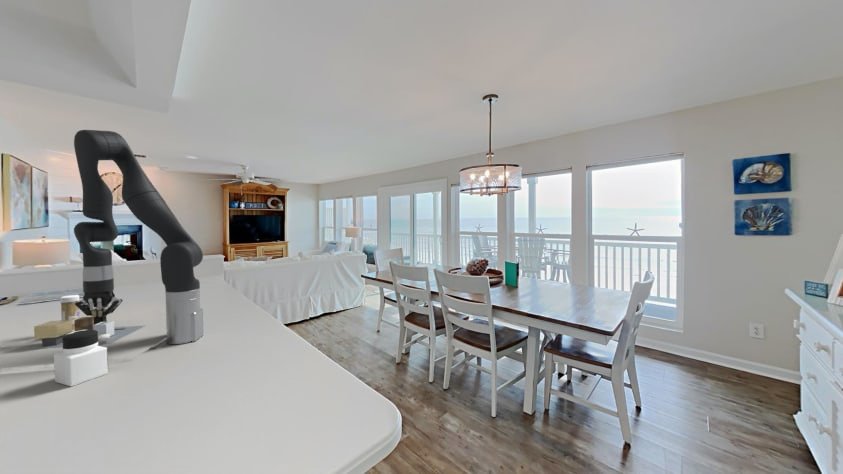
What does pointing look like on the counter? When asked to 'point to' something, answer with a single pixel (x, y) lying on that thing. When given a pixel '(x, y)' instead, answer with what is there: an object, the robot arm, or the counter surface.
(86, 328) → the walnut fader
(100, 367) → the medicine bottle
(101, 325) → the grey fader
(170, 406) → the counter surface
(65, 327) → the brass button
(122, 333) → the board
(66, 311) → the sprinkles bottle
